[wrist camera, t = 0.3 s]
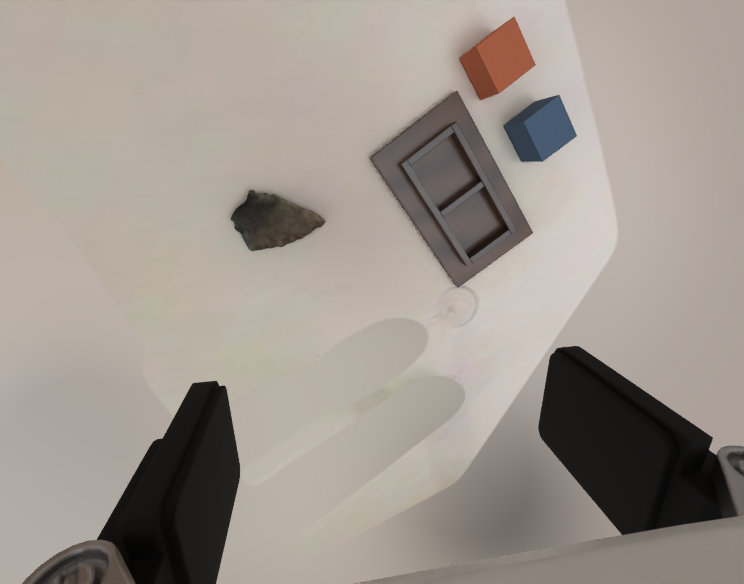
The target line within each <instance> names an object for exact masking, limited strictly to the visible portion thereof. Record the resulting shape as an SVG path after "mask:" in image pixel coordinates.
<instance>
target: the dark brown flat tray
mask: <svg viewBox="0 0 744 584" xmlns="http://www.w3.org/2000/svg"><path fill="white" fill-rule="evenodd" d="M370 159H371V161H372V162H373V164H374V165H375V167H376V168H377V170H378V171H379V173H380V174H381V176H382V177H383V179H384V180H385V182H386V183H387V185H388V186H389V188H390V189H391V191H392V192H393V194H394V195H395V197H396V198H397V200H398V201H399V202H400V204H401V205H402V207H403V208H404V210H405V211H406V213H407V214H408V216H409V217H410V219H411V220H412V222H413V223H414V225H415V226H416V228H417V229H418V231H419V232H420V234H421V235H422V237H423V238H424V240H425V241H426V243H427V244H428V245H429V247H430V248H431V250H432V251H433V253H434V254H435V256H436V257H437V259H438V260H439V262H440V263H441V265H442V266H443V268H444V269H445V271H446V272H447V274H448V275H449V277H450V278H451V280H452V281H453V283H454V284H455V285H456V286H457V287H460V286H461V285H462V284H464V283H465V282H466V281H468V280H469V279H471V278H472V277H473V276H475V275H476V274H477V273H479V272H480V271H482V270H483V269H484V268H486V267H487V266H488V265H490V264H491V263H493V262H494V261H495V260H497V259H498V258H499V257H501V256H502V255H504V254H505V253H506V252H508V251H509V250H510V249H512V248H513V247H515V246H516V245H517V244H519V243H520V242H521V241H523V240H524V239H525V238H527V237H528V236H530V235H531V234H532V233H533V232H532V230H531V228H530V226H529V224H528V222H527V221H526V219H525V217H524V215H523V213H522V211H521V209H520V208H519V206H518V204H517V202H516V200H515V198H514V196H513V194H512V193H511V191H510V189H509V187H508V185H507V183H506V181H505V179H504V178H503V176H502V174H501V172H500V170H499V168H498V166H497V165H496V163H495V161H494V159H493V157H492V155H491V153H490V151H489V150H488V148H487V146H486V144H485V142H484V140H483V138H482V136H481V135H480V133H479V131H478V129H477V127H476V125H475V123H474V122H473V120H472V118H471V116H470V114H469V112H468V110H467V108H466V107H465V105H464V103H463V101H462V99H461V97H460V95H459V93H458V92H457V91H456V92H454V93H452V94H451V95H450V96H449V97H447V98H446V99H445V100H443V101H442V102H441V103H440V104H438V105H437V106H436V107H435V108H433V109H432V110H431V111H429V112H428V113H427V114H426V115H424V116H423V117H422V118H420V119H419V120H418V121H417V122H415V123H414V124H413V125H411V126H410V127H409V128H408V129H406V130H405V131H404V132H402V133H401V134H400V135H399V136H397V137H396V138H395V139H393V140H392V141H391V142H390V143H388V144H387V145H386V146H384V147H383V148H382V149H381V150H379V151H378V152H377V153H376V154H374V155H373V156H372V157H370Z"/></svg>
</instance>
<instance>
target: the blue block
mask: <svg viewBox="0 0 744 584" xmlns="http://www.w3.org/2000/svg"><path fill="white" fill-rule="evenodd" d="M504 128H505V130H506V132H507V134H508V136H509V138H510V140H511V142H512V144H513V146H514V148H515V150H516V152H517V154H518V156H519V158H520V160H521V161H522V162H525V161H544V160H545V159H547V158H548V157H549V156H551V155H552V154H553V153H555V152H556V151H557V150H559V149H560V148H561V147H563V146H564V145H565V144H567V143H568V142H569V141H571V140H572V139H574V138H575V137H576V136H577V135H576V133H575V131H574V128H573V126H572V124H571V121H570V119H569V117H568V114H567V112H566V110H565V107H564V105H563V103H562V100H561V98H560V96H559V95H557V96H553V97H550V98H546V99H542V100H539V101H535V102H534V103H533V104H531V105H530V106H529V107H527V108H526V109H525V110H523V111H522V112H521V113H519V114H518V115H517V116H515V117H514V118H513V119H512V120H510V121H509V122H508V123H506V124H505V125H504Z"/></svg>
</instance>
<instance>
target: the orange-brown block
mask: <svg viewBox="0 0 744 584" xmlns="http://www.w3.org/2000/svg"><path fill="white" fill-rule="evenodd" d="M459 59H460V61H461V63H462V65H463V67H464V69H465V71H466V73H467V75H468V77H469V79H470V81H471V83H472V85H473V86H474V88H475V90H476V92H477V94H478V96H479V98H480V100H482V99H484V98H487V97H490V96H493V95H495V94H498V93H500V92H501V91H503V90H504V89H505V88H506V87H508V86H509V85H510V84H512V83H513V82H514V81H515V80H517V79H518V78H519V77H521V76H522V75H523V74H525V73H526V72H527V71H528V70H530V69H531V68H532V67H534V66H535V62H534V60H533V58H532V56H531V53H530V51H529V49H528V47H527V44H526V42H525V40H524V38H523V35H522V33H521V31H520V28H519V26H518V24H517V22H516V19H515V17H513V18H512V19H510V20H509V21H507V22H506V23H505V24H503V25H502V26H500V27H499V28H498V29H496V30H495V31H493V32H492V33H491V34H490V35H488V36H487V37H486V38H485V39H483V40H482V41H481V42H479V43H478V44H477V45H476V46H474V47H473V48H472V49H471V50H469V51H468V52H467V53H465V54H464V55H463V56H462V57H460V58H459Z"/></svg>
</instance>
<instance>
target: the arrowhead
mask: <svg viewBox="0 0 744 584" xmlns="http://www.w3.org/2000/svg"><path fill="white" fill-rule="evenodd" d="M231 220H232V221H233V222H234V224H235V229H236V230H237V231H238V232H240V233H241V234H242V237H243V239H244V241H245V243H246V244H247V247H248V248H249V250H251V251H255V250H262V249H266V248H274V247H282V246H285V245H286V244H288V243H291V242H294V241H296V240H297V239H302V238H303V237H304V236H306V235H308V234H310V233H311V232H312V231H313V230H315V229H316V228H318V227H321V226H322V225H323V224H324V223H325V220H324V218H321V217H320V216H318V215H317V214H316V213H314V212H312V211H307V210H305V209H303V208H300V207H298V206H296V205H294V204H292V203H289V202H287V201H286V200H283V199H280V198H279V197H278V196H276V195H274V194H273V195H268V194H267V193H264V194H256V193H255V192H254V190H250V191H249V193H248V196H247V200H246V201H245V202H244V203H243V204H241V205H240V206H239V207H238V208H236V210H235V212H234V213H233V215H232V217H231Z"/></svg>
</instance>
